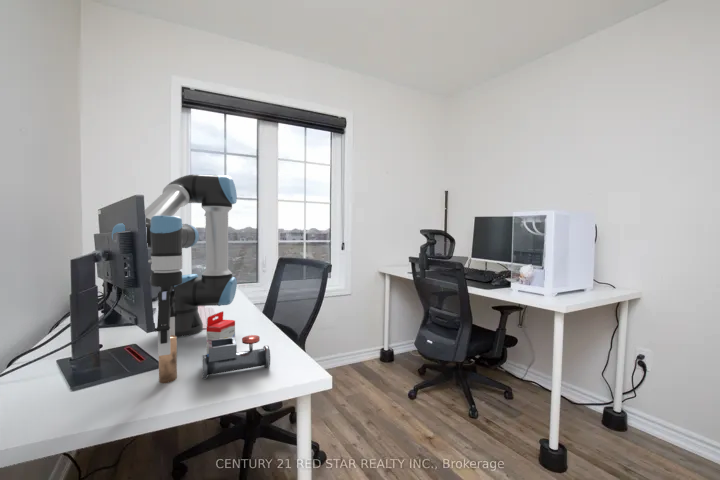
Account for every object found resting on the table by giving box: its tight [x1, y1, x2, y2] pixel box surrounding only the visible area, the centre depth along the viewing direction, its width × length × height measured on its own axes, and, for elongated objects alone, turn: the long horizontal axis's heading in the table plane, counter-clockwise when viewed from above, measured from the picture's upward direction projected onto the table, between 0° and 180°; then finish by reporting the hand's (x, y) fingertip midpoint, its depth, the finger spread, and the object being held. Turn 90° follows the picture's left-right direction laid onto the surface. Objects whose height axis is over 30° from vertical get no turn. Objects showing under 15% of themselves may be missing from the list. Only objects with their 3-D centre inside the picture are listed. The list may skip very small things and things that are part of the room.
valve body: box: [202, 334, 271, 380], centre depth 95 cm, size 18×7×10 cm, turn 116°
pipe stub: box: [158, 335, 178, 384], centre depth 90 cm, size 4×4×12 cm
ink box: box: [206, 311, 236, 357], centre depth 105 cm, size 8×5×15 cm, turn 168°
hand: (167, 346), depth 90 cm, fingers open, 13 cm apart
